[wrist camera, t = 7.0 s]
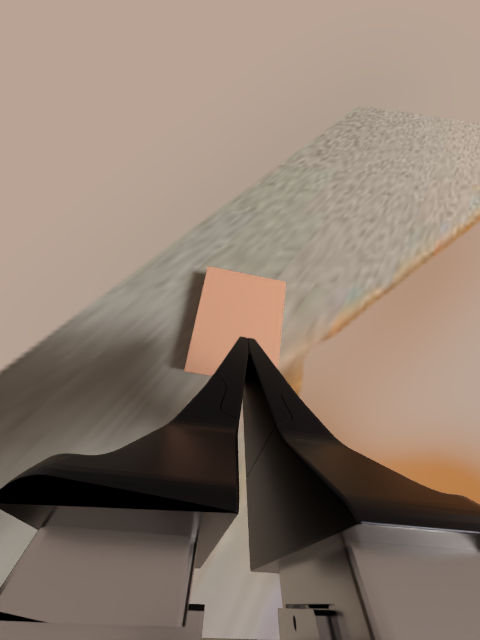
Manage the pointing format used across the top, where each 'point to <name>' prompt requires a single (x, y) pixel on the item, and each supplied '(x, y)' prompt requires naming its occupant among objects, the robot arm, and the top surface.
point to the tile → (235, 318)
